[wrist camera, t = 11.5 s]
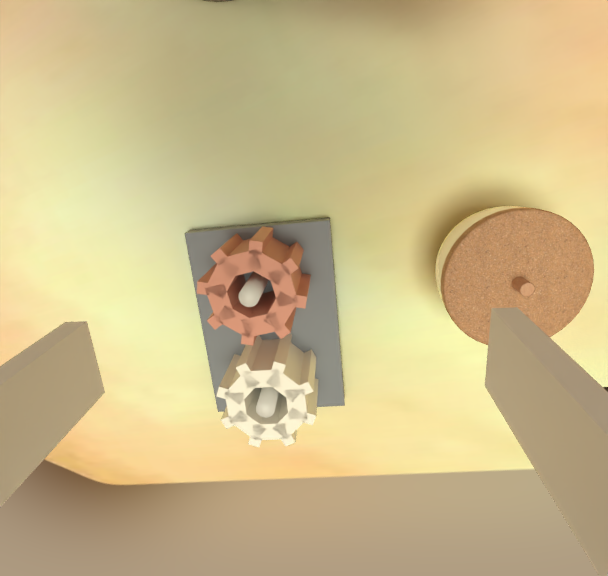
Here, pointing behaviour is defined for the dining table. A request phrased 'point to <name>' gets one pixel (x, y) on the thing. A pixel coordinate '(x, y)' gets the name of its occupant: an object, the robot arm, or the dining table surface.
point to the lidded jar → (514, 269)
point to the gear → (272, 305)
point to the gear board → (274, 339)
